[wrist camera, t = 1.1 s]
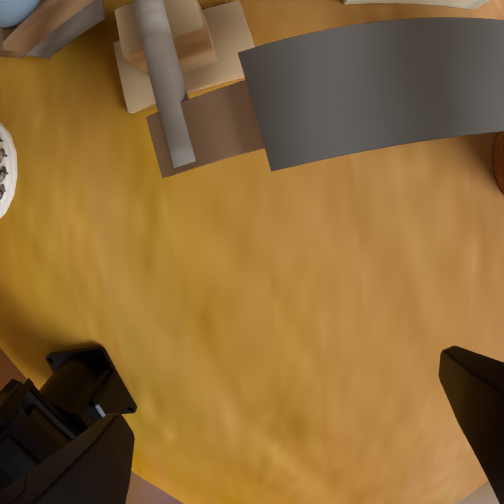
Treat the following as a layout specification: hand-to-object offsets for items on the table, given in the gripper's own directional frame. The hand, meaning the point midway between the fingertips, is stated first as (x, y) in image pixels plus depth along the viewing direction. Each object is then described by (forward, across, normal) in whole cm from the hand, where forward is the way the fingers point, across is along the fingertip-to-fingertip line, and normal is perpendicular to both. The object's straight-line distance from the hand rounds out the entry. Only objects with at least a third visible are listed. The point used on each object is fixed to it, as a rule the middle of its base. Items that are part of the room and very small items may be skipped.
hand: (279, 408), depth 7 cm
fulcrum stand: (+12, +2, -18) cm, 22 cm away
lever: (+9, -1, -15) cm, 17 cm away
